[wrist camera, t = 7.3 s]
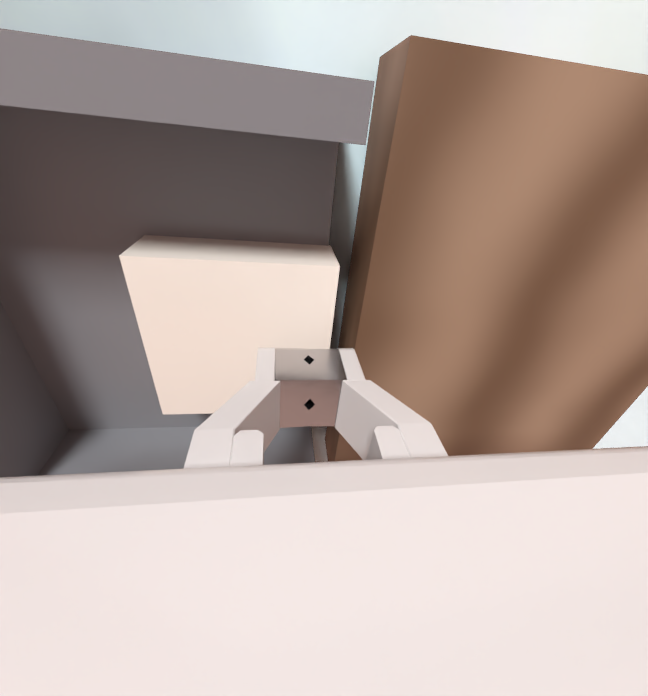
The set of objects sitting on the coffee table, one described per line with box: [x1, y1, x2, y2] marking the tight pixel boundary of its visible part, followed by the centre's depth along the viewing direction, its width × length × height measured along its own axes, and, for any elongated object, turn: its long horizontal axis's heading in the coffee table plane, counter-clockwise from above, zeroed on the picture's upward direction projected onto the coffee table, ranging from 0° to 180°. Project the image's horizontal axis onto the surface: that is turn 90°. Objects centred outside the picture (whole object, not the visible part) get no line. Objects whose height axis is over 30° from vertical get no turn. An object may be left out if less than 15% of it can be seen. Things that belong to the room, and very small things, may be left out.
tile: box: [119, 235, 340, 414], centre depth 11 cm, size 6×6×2 cm
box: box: [0, 29, 374, 477], centre depth 11 cm, size 12×14×4 cm
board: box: [325, 35, 648, 462], centre depth 13 cm, size 14×16×2 cm
